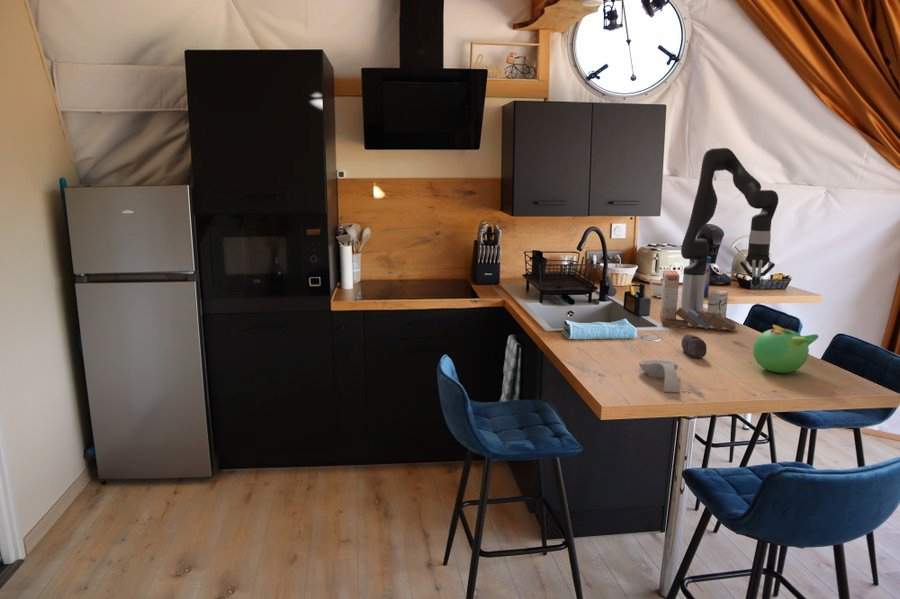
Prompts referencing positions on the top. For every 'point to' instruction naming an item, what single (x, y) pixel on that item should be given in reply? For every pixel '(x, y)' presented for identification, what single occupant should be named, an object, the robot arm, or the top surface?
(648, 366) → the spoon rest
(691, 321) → the domino
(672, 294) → the cracker box
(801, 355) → the toy bird
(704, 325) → the domino
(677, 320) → the domino
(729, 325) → the domino
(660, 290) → the lidded jar
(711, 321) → the domino
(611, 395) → the top surface
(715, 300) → the ink box
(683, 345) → the perforated stone tool
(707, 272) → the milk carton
